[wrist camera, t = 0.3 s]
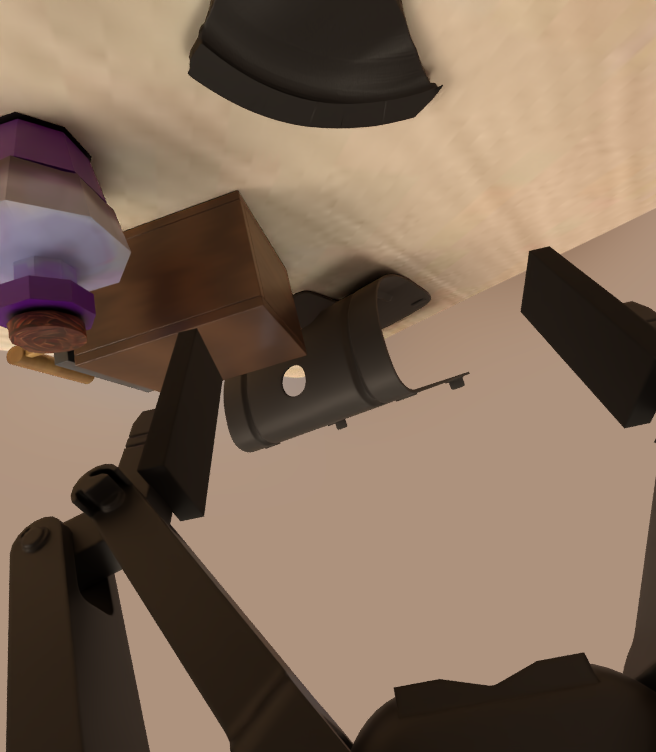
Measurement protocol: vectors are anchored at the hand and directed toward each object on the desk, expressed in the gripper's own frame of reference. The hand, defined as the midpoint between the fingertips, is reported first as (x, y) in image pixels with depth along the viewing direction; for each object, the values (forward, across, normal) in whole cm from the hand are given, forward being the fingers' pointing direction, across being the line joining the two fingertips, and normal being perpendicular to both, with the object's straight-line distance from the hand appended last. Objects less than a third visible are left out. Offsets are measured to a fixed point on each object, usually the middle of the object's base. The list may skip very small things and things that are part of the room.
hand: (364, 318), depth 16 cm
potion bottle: (+15, -16, +7) cm, 23 cm away
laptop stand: (+35, -2, -22) cm, 41 cm away
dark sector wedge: (+14, +1, +8) cm, 17 cm away
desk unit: (+22, -13, -5) cm, 26 cm away
